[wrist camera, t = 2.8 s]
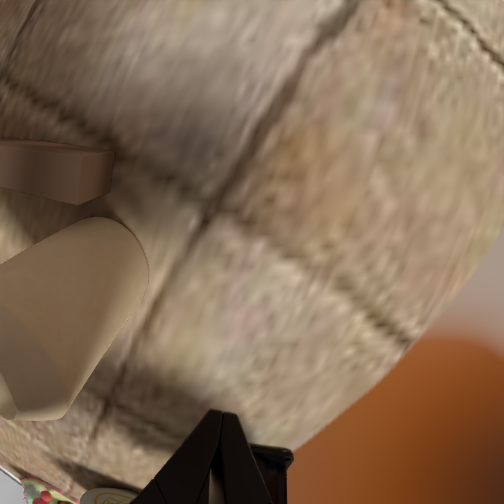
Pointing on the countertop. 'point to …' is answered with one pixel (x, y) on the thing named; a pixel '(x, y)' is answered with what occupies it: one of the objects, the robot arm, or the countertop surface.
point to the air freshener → (107, 496)
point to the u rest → (55, 170)
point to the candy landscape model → (45, 493)
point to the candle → (64, 313)
